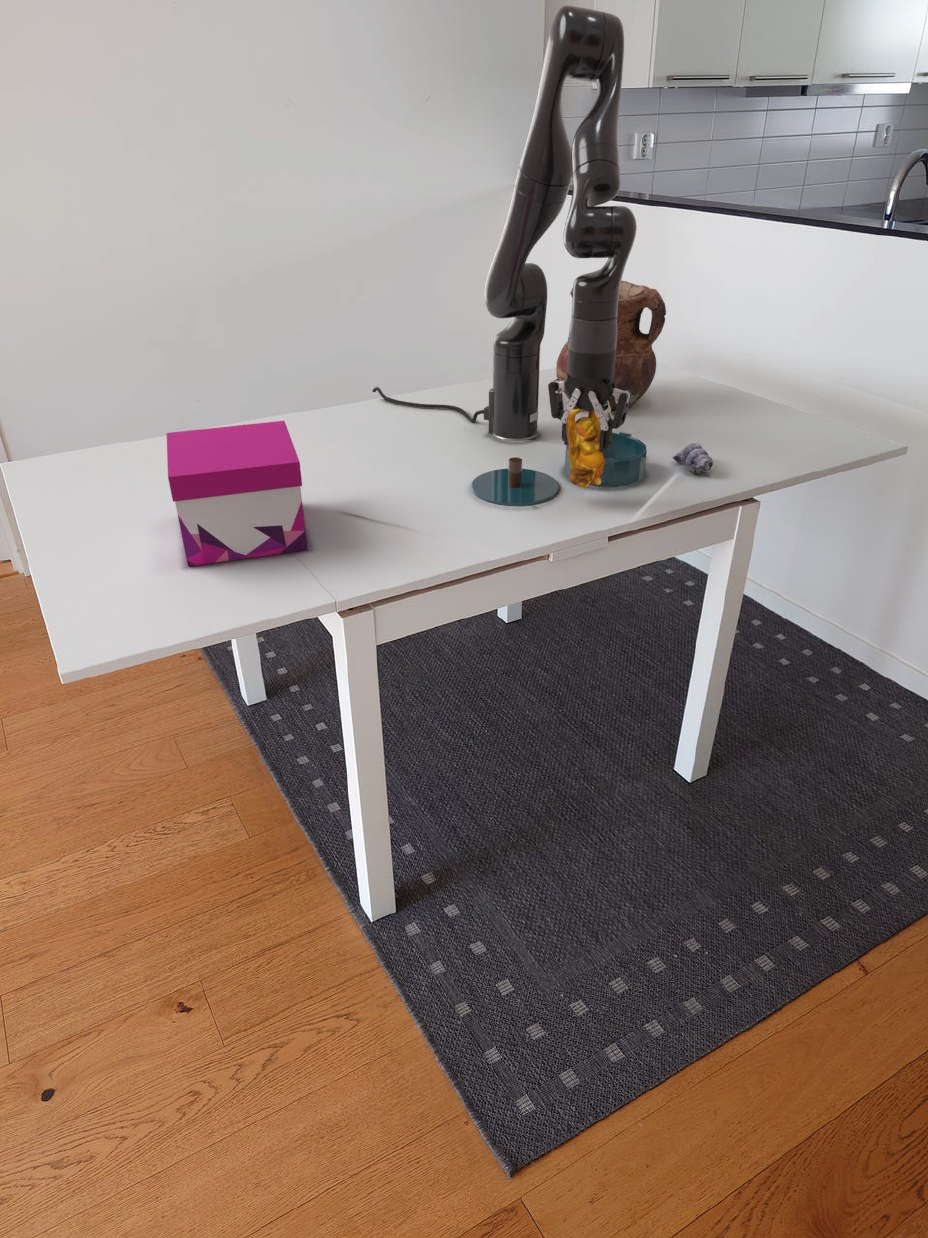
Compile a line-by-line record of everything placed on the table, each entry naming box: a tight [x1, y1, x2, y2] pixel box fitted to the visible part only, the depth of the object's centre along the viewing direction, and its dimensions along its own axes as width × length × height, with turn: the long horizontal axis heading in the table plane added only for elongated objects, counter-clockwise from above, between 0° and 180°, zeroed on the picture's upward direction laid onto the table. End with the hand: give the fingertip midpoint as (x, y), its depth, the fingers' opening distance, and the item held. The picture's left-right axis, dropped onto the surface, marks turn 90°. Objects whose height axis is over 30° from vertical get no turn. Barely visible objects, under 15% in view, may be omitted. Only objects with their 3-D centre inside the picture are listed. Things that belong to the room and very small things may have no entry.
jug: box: [555, 280, 667, 412], centre depth 194 cm, size 22×21×25 cm
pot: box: [564, 431, 648, 488], centre depth 164 cm, size 15×20×5 cm
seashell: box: [672, 442, 714, 474], centre depth 166 cm, size 5×5×10 cm
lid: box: [471, 456, 559, 507], centre depth 158 cm, size 16×16×6 cm
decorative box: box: [166, 420, 308, 567], centre depth 142 cm, size 19×19×15 cm
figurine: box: [566, 408, 606, 488], centre depth 148 cm, size 6×7×13 cm
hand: (585, 446), depth 148 cm, fingers closed on figurine, 5 cm apart
